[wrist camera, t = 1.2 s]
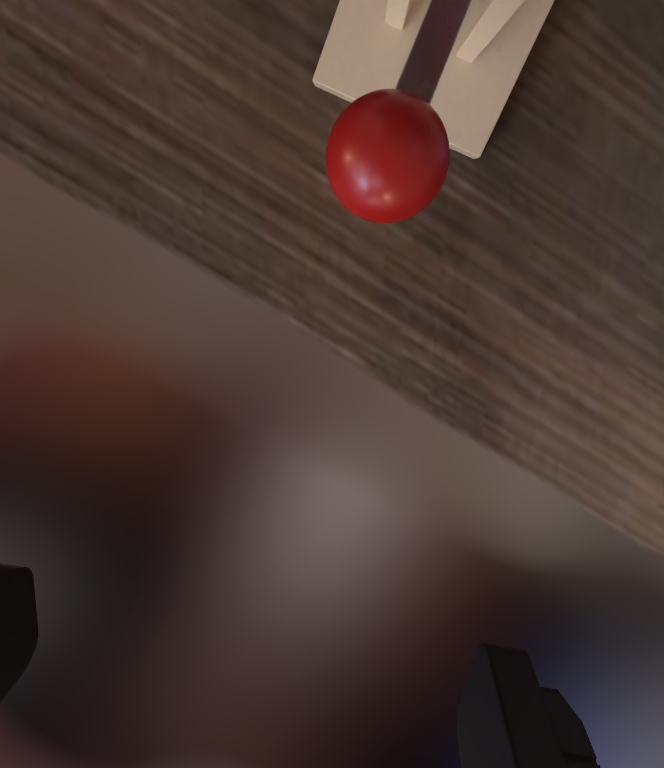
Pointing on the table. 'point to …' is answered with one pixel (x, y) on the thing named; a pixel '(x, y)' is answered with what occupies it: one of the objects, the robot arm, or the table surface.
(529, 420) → the table surface
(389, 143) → the power lever
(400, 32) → the switch bracket
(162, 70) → the table surface
